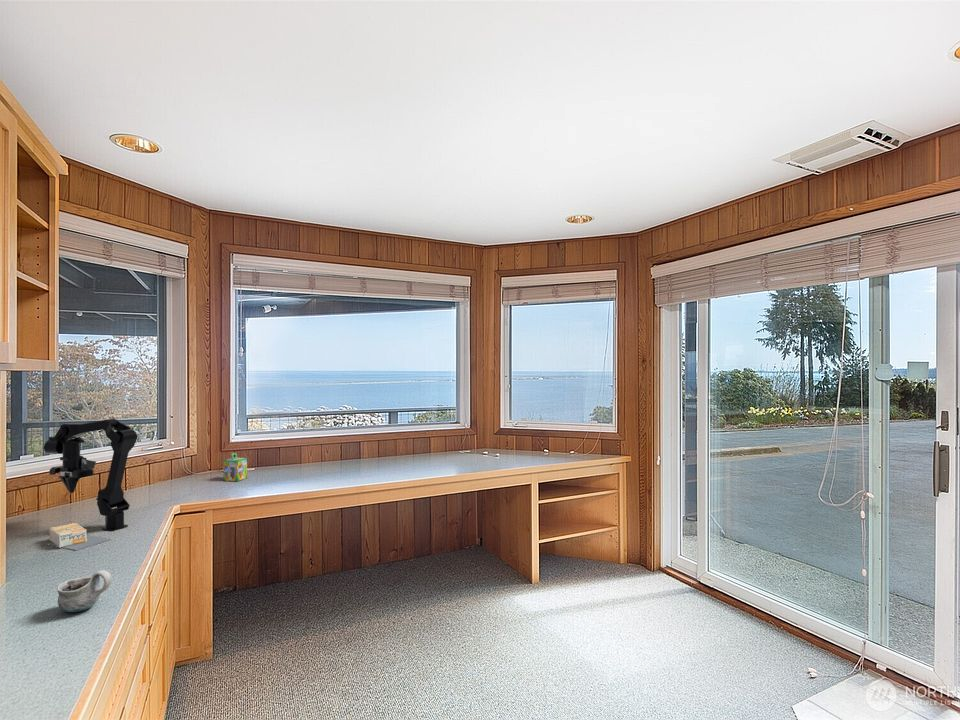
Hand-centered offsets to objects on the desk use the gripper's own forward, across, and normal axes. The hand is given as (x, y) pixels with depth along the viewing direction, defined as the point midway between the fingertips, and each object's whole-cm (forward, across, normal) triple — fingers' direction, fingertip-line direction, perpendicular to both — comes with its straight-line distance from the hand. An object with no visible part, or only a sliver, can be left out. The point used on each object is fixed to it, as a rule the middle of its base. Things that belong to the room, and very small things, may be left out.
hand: (71, 492), depth 218 cm
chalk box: (+13, +4, -86) cm, 87 cm away
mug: (+13, -82, +45) cm, 95 cm away
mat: (+13, -25, +12) cm, 31 cm away
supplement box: (+10, -14, +12) cm, 21 cm away
